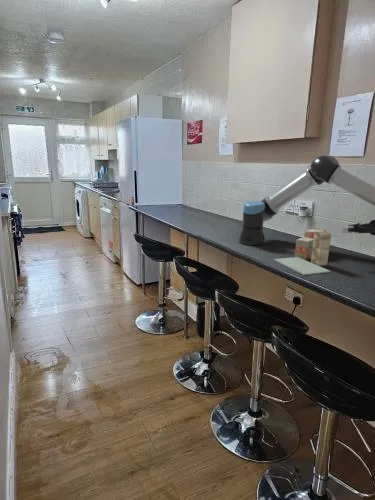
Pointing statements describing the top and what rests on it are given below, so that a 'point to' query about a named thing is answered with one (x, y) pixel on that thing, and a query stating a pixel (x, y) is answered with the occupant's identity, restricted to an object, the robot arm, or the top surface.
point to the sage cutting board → (302, 266)
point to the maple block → (320, 248)
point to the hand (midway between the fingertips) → (341, 229)
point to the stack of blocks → (306, 244)
